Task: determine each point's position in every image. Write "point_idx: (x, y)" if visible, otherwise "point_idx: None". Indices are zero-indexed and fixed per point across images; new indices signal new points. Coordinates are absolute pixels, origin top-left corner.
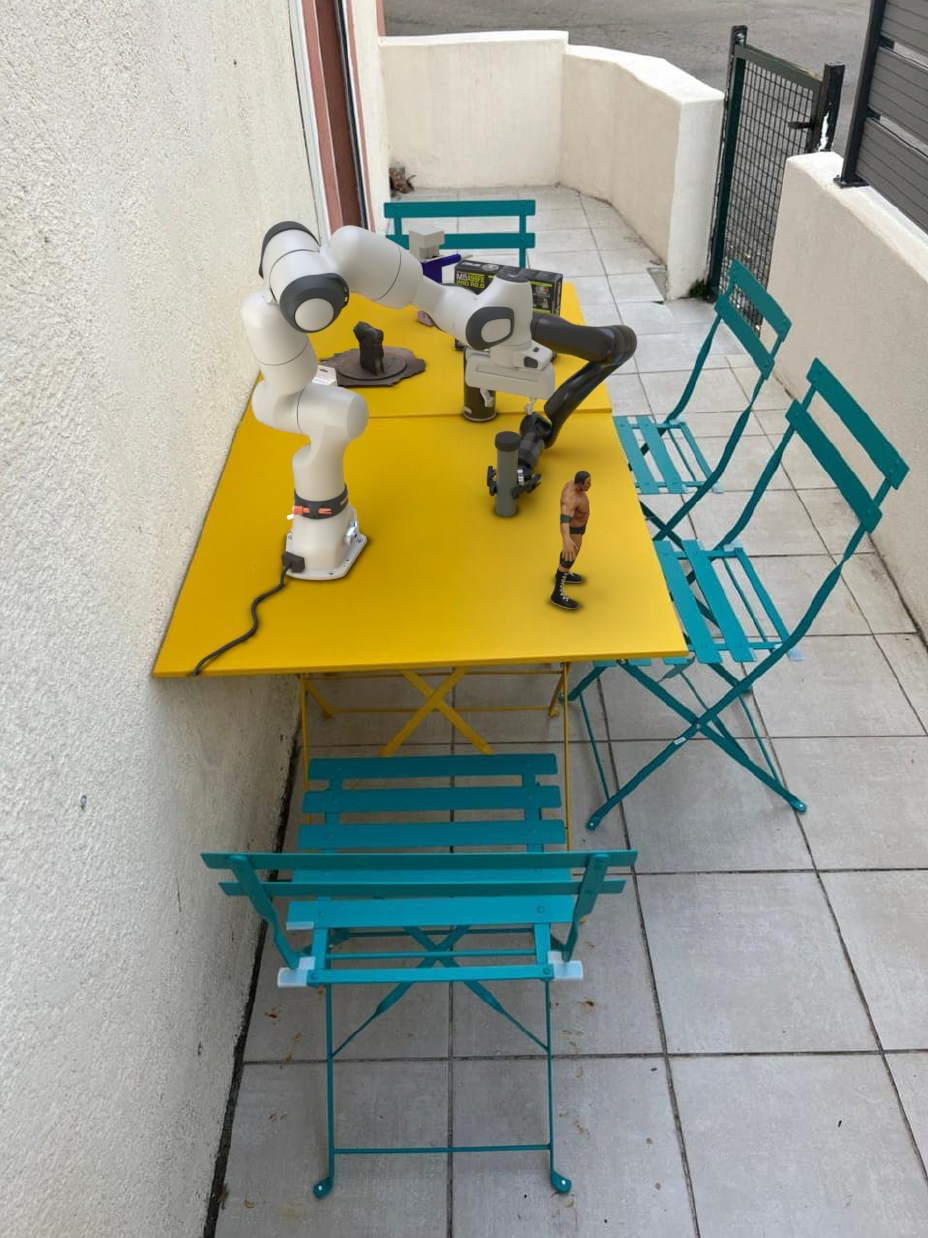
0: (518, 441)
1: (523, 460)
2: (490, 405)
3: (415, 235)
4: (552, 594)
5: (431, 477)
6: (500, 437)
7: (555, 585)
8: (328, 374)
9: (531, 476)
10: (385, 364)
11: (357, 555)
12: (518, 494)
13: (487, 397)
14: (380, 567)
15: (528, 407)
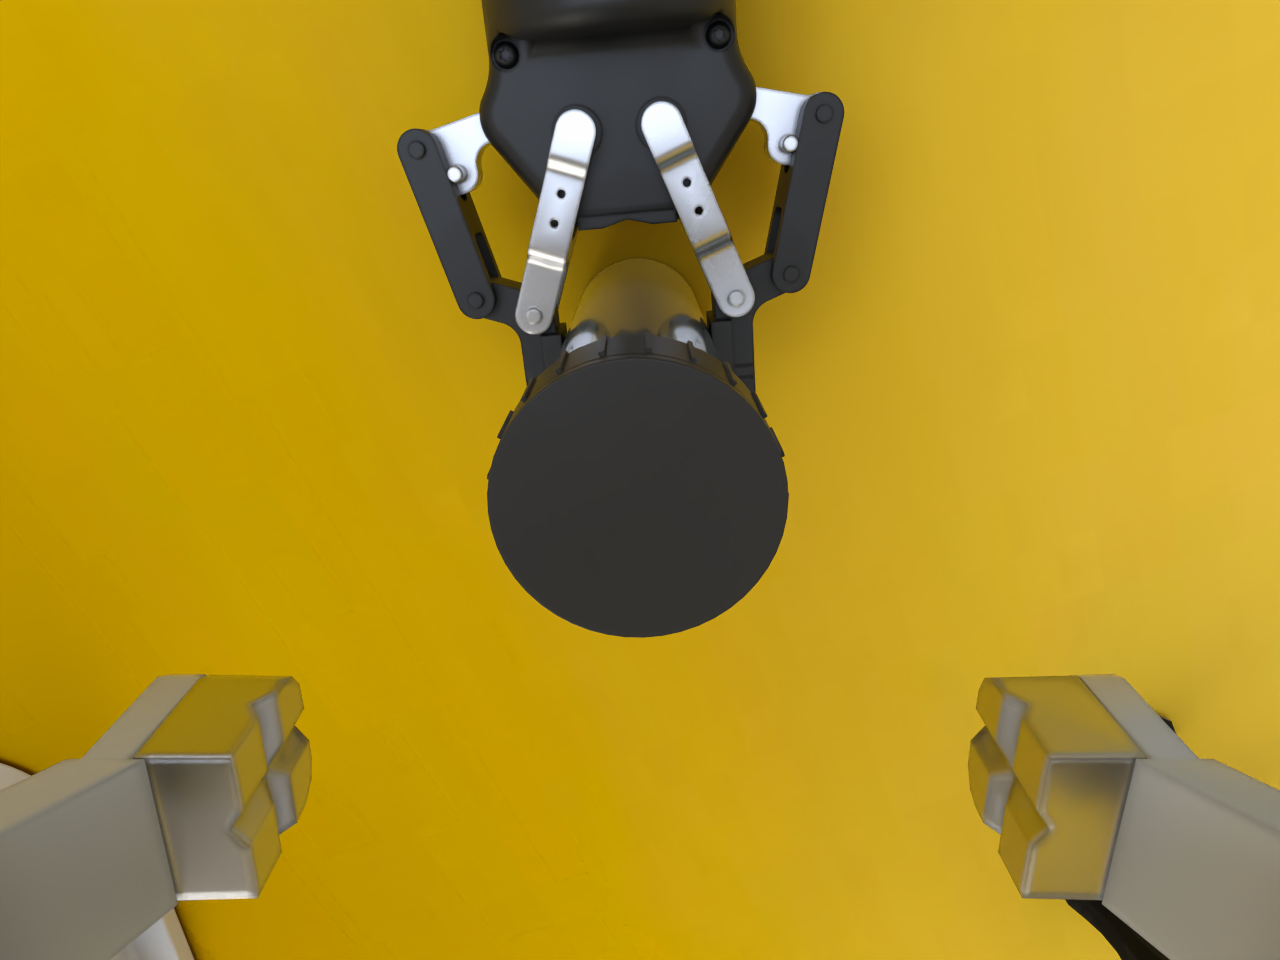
0: (782, 528)
1: (663, 22)
2: (289, 817)
3: None
4: (1080, 914)
5: (20, 130)
6: (562, 545)
7: (1112, 946)
8: None
9: (761, 123)
10: None
11: (173, 914)
12: None
13: (130, 901)
14: (307, 929)
15: (1127, 914)
